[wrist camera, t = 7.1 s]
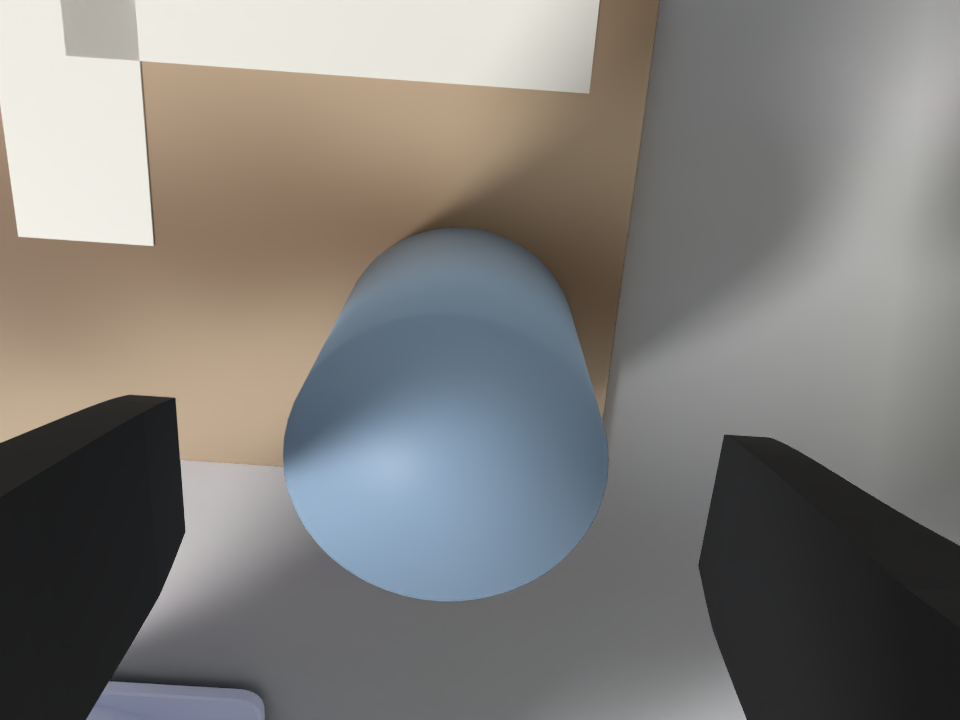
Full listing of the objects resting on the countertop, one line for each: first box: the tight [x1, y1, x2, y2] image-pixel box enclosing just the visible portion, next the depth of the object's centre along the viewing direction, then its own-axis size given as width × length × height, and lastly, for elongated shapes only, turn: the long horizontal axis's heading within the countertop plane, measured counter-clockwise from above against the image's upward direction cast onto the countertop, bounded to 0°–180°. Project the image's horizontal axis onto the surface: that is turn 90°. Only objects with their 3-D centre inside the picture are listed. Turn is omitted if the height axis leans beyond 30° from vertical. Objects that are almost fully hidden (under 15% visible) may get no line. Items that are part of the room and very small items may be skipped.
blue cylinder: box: [283, 228, 609, 601], centre depth 14 cm, size 4×4×5 cm
